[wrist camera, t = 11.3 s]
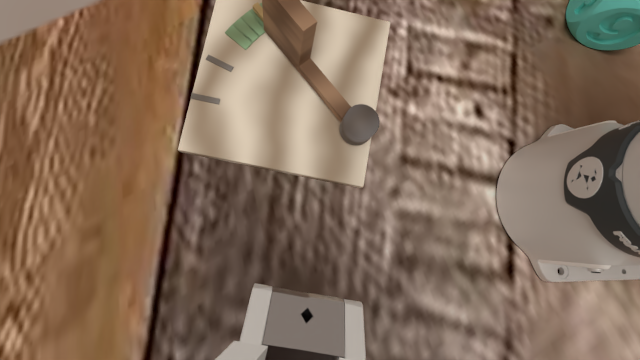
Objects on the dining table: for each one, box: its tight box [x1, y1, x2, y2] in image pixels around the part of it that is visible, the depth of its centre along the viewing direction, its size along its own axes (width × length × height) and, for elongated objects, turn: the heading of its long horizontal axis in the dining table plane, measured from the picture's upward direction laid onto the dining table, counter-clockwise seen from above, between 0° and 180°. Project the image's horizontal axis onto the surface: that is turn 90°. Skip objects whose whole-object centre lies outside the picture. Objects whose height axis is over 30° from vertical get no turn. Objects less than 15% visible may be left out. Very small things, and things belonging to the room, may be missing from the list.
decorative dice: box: [566, 0, 640, 50], centre depth 43 cm, size 8×8×8 cm
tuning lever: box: [253, 0, 379, 145], centre depth 36 cm, size 19×4×8 cm, turn 40°
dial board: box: [178, 0, 390, 188], centre depth 40 cm, size 20×20×1 cm
